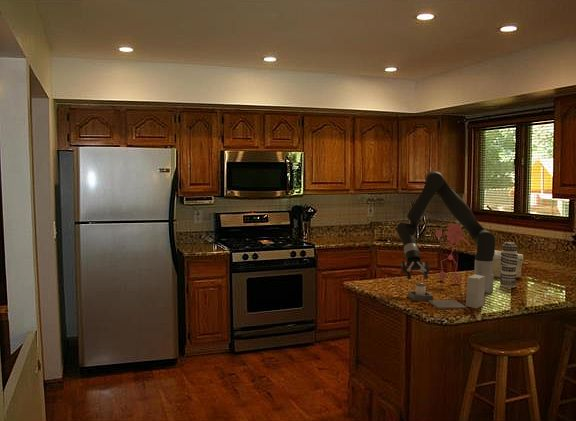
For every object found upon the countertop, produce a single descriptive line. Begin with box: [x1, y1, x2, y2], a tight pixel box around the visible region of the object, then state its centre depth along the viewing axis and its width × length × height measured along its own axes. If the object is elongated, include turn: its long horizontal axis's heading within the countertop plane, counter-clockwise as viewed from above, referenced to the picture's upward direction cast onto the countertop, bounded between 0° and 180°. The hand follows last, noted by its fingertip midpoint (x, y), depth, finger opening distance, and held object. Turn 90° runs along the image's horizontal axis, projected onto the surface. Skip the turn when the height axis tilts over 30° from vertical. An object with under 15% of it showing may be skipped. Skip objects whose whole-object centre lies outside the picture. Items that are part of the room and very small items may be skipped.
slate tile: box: [427, 299, 467, 310], centre depth 264 cm, size 14×14×1 cm
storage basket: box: [492, 249, 524, 279], centre depth 338 cm, size 24×16×15 cm
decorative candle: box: [499, 241, 518, 288], centre depth 308 cm, size 9×9×25 cm
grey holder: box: [407, 290, 434, 302], centre depth 276 cm, size 10×10×2 cm
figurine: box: [435, 222, 472, 285], centre depth 316 cm, size 15×26×35 cm, turn 34°
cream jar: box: [414, 281, 426, 296], centre depth 276 cm, size 5×5×8 cm
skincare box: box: [465, 273, 485, 309], centre depth 261 cm, size 8×6×15 cm
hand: (417, 278), depth 279 cm, fingers open, 8 cm apart
